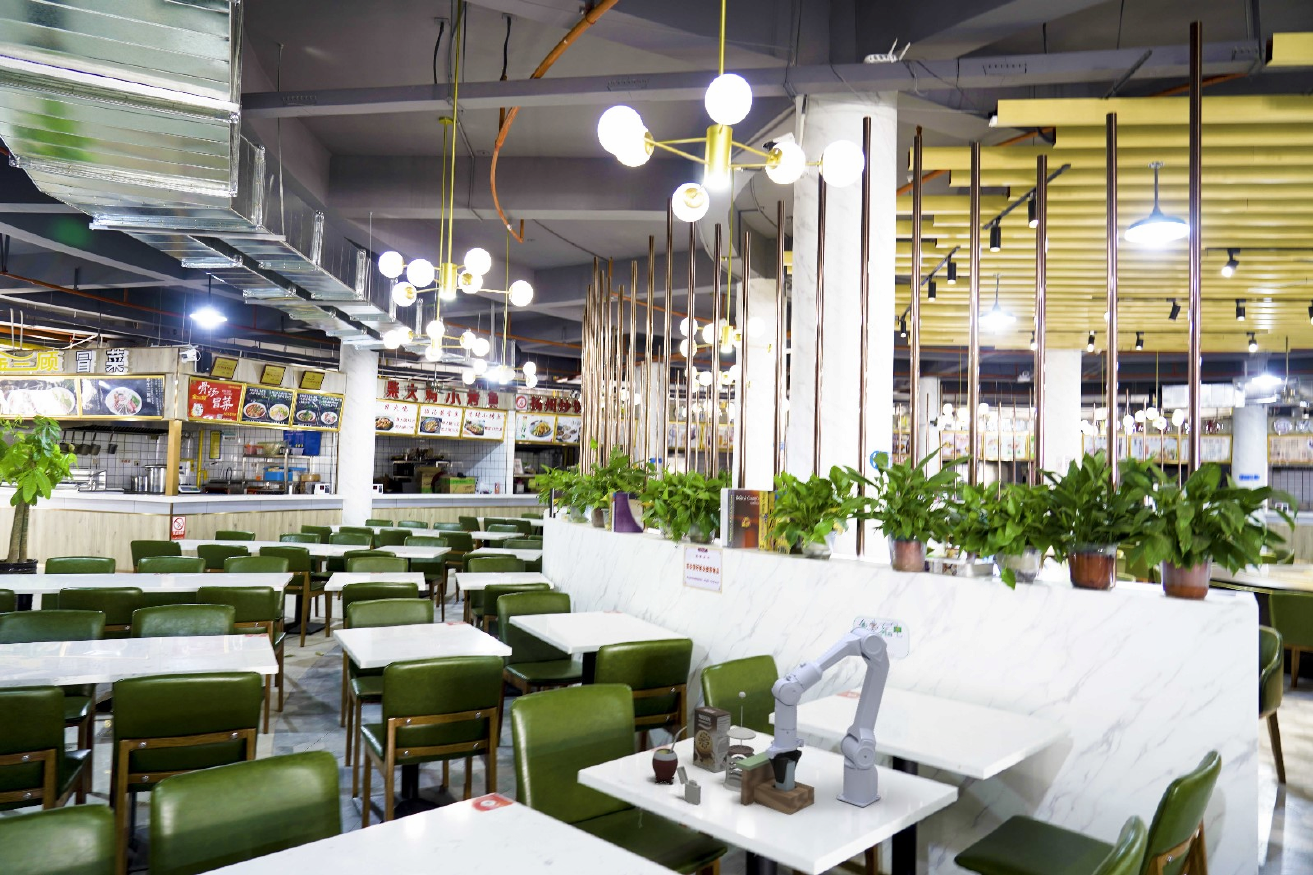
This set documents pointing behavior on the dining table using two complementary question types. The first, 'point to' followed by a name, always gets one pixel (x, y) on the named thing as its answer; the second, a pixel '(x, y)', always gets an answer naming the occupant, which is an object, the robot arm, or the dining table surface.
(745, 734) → the french press
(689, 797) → the lighter
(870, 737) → the robot arm
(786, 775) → the peg
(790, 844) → the dining table surface
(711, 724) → the coffee box
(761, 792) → the socket holder
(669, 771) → the mate gourd
